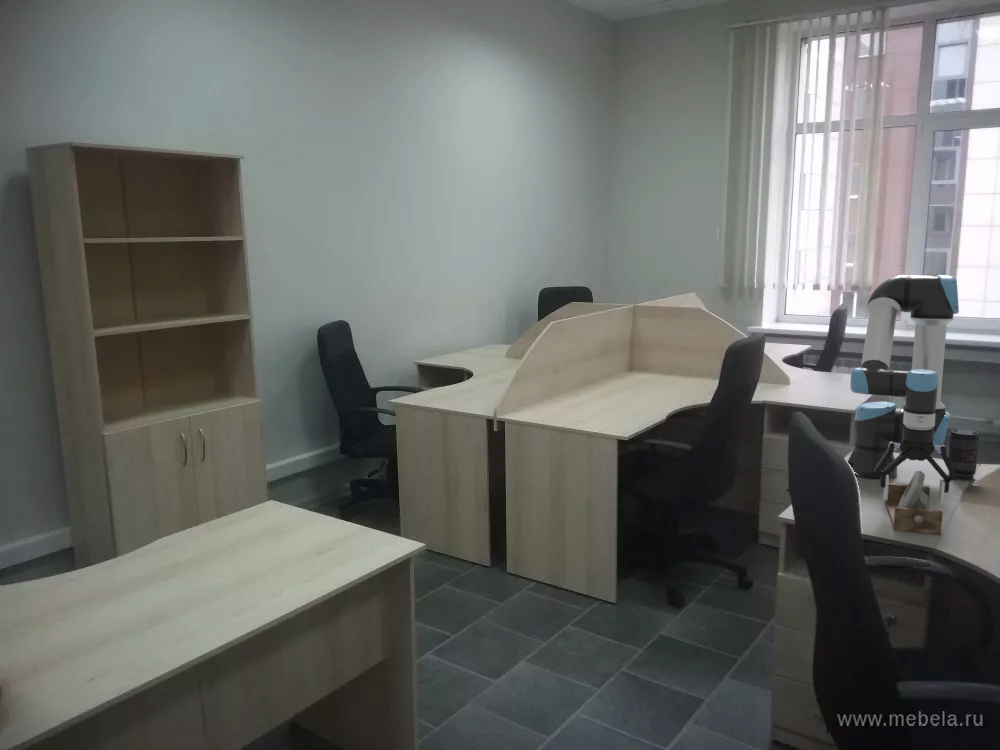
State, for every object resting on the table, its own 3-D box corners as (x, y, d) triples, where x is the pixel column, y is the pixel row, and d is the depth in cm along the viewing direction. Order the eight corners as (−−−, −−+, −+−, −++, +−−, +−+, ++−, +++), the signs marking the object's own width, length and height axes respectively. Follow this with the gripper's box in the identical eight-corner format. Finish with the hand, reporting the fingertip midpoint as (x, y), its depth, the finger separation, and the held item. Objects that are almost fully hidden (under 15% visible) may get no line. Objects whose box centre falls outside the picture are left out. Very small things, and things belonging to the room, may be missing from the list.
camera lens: (975, 475, 247) (980, 430, 245) (975, 482, 241) (979, 436, 238) (947, 471, 252) (950, 427, 249) (945, 478, 245) (949, 433, 242)
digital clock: (902, 502, 222) (904, 467, 220) (936, 509, 216) (939, 473, 214) (884, 518, 210) (886, 481, 208) (920, 526, 204) (923, 488, 202)
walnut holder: (926, 505, 222) (928, 485, 221) (941, 536, 200) (943, 514, 199) (884, 501, 226) (886, 481, 225) (894, 531, 204) (896, 509, 203)
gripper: (869, 427, 209) (864, 500, 213) (974, 433, 200) (967, 510, 204) (866, 420, 216) (862, 492, 220) (968, 426, 207) (961, 500, 211)
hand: (912, 501), depth 212 cm, fingers open, 13 cm apart
